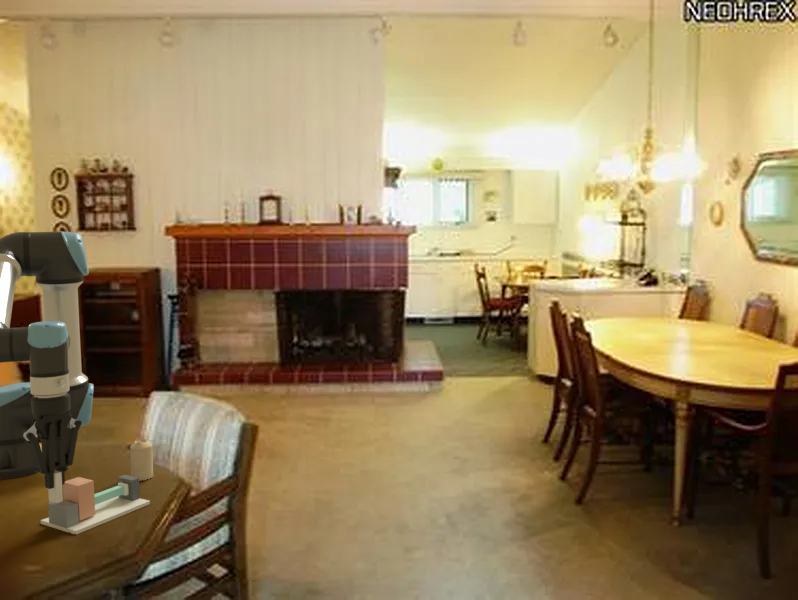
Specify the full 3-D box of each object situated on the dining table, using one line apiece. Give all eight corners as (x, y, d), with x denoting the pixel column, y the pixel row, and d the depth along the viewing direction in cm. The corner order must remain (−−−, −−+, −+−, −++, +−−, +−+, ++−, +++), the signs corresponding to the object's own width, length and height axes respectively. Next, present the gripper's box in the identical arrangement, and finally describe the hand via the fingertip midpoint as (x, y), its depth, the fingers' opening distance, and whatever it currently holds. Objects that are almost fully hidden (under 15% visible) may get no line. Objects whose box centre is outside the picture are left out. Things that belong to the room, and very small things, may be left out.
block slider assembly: (40, 523, 160) (39, 498, 159) (115, 495, 177) (115, 472, 177) (75, 534, 154) (74, 508, 153) (150, 504, 171) (149, 480, 171)
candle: (148, 481, 187) (147, 443, 186) (127, 481, 187) (126, 443, 187) (156, 474, 193) (155, 437, 192) (135, 474, 193) (134, 437, 192)
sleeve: (64, 516, 161) (62, 482, 160) (80, 510, 165) (78, 476, 164) (79, 520, 159) (78, 486, 158) (95, 514, 162) (93, 480, 161)
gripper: (32, 402, 147) (38, 514, 149) (88, 390, 158) (93, 494, 160) (10, 398, 150) (16, 507, 152) (66, 386, 162) (71, 488, 164)
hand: (55, 501), depth 156 cm, fingers closed
